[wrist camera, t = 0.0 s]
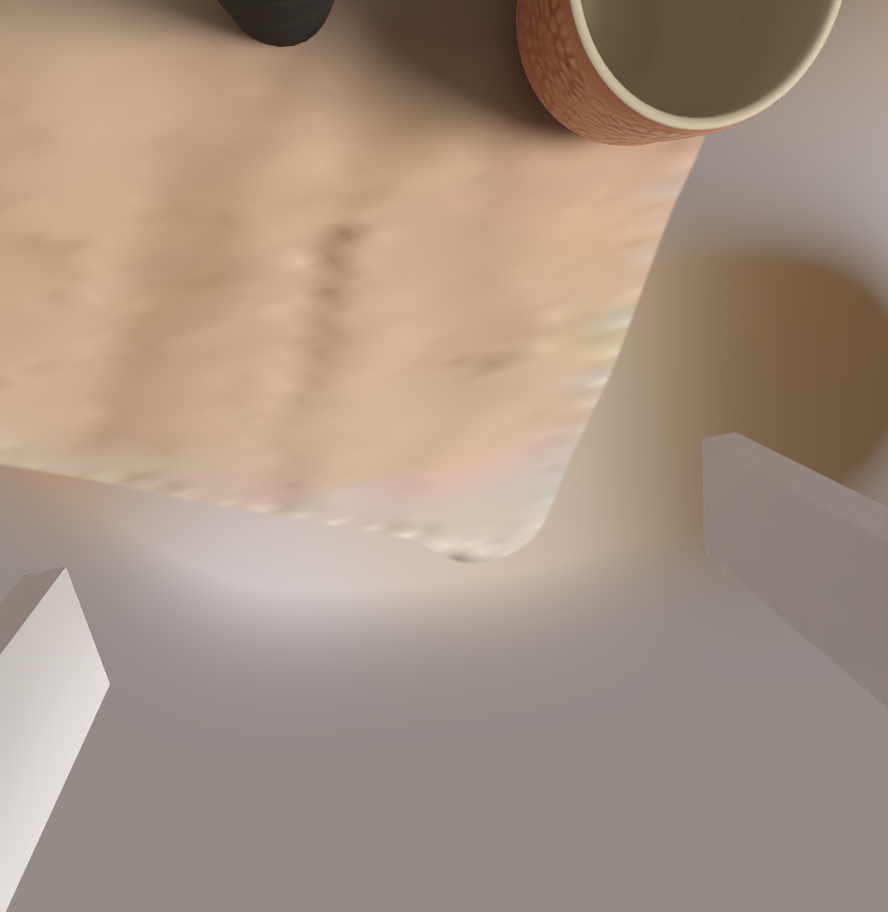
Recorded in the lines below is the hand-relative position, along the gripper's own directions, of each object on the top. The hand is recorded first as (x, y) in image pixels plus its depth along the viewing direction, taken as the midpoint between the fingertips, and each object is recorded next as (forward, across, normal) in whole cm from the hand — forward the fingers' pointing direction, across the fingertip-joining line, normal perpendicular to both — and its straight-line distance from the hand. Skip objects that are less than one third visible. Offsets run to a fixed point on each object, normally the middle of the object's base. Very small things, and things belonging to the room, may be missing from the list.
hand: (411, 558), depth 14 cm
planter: (+28, +17, +14) cm, 36 cm away
